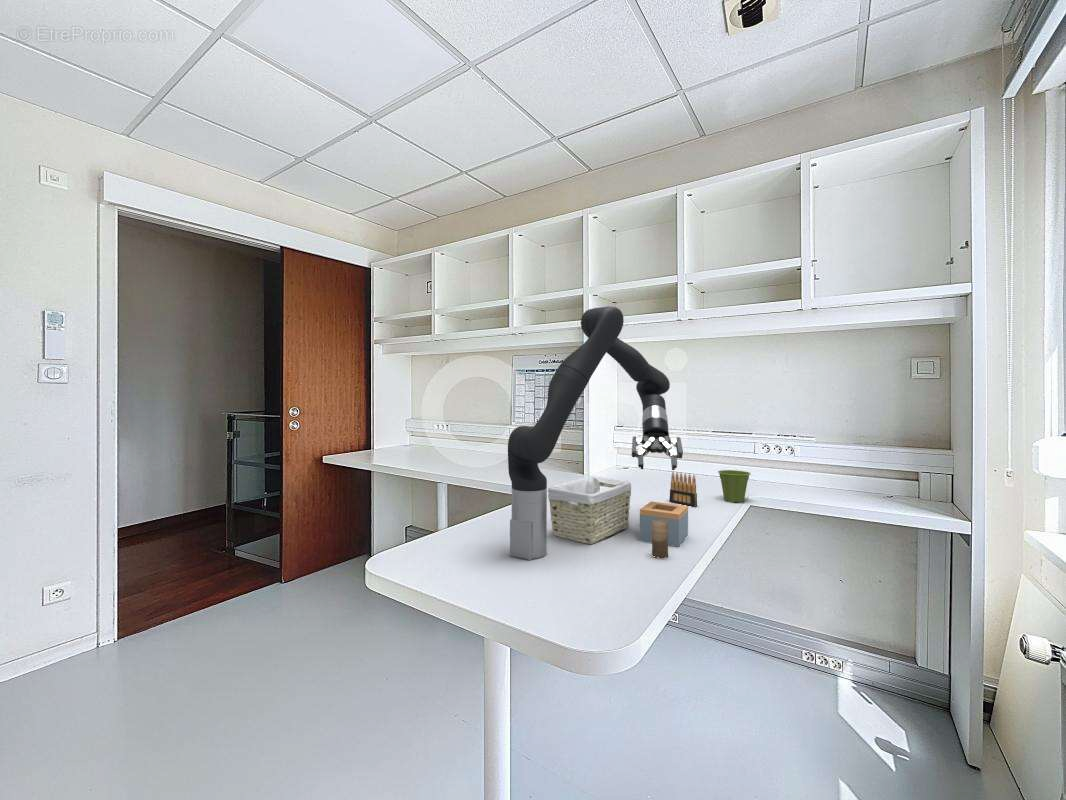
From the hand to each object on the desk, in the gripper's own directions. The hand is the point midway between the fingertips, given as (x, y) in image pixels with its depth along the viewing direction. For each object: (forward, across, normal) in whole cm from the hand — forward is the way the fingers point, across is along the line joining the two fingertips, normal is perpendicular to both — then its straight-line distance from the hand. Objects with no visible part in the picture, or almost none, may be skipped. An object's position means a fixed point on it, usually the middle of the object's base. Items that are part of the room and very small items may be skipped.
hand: (657, 468), depth 132 cm
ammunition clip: (-19, +13, +50) cm, 54 cm away
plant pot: (-26, +33, +57) cm, 71 cm away
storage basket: (+10, -19, +20) cm, 30 cm away
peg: (+22, 0, +7) cm, 24 cm away
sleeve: (+12, +2, +18) cm, 22 cm away
